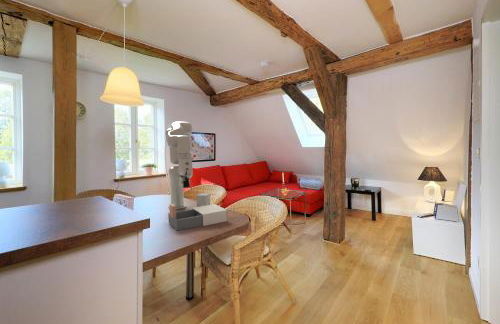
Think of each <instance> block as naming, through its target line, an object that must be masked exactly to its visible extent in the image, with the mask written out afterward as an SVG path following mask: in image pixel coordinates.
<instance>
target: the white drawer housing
mask: <svg viewBox="0 0 500 324" xmlns="http://www.w3.org/2000/svg"><path fill="white" fill-rule="evenodd" d="M191 208H192V209H194V210H195V211H197V212H199V213H200V214H202V215H203V225H202V226H203V227H205V226H209V225H214V224H216V225H217V224H219V223H224V222H225V223H226V222H228V210H227V209H226V208H224V207H221V206H219V205H217V204H215V203H214V204H213V203H212V204H210V205H206V206H200V207H197V206H193V207H191ZM192 209H191V210H192Z"/></svg>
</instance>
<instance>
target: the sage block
mask: <svg viewBox="0 0 500 324" xmlns="http://www.w3.org/2000/svg"><path fill="white" fill-rule="evenodd" d="M185 178H186V177H185ZM179 187H180V188H183V189H185V188H184V177H179ZM188 188H189V189H190V188H191V178H190V177H189V187H186V189H188Z"/></svg>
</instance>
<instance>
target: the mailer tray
mask: <svg viewBox="0 0 500 324" xmlns="http://www.w3.org/2000/svg"><path fill="white" fill-rule="evenodd" d="M169 206H170V208H169V213H168V224H169V225H170V226H171V227H172V228H173V229H174V230H176V231H180V230H187V229H191V228H196V227H197V228H198V227H200V226H203V215H202V214H200V213H199V212H197V211H195V210H194V209H188V210H181V211H177V209H176V206H175V205H174V204H171V203H169V204H168V207H169Z"/></svg>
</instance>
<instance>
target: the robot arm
mask: <svg viewBox="0 0 500 324" xmlns="http://www.w3.org/2000/svg"><path fill="white" fill-rule="evenodd" d="M192 132H193V126H192V124H191V123H190V122H189V121H188V122H187V121H175V122H173V123H171V125H170V128H168V129H166V130H165V137H166V144H167V147H169V158H170V164H172V165H174V166H171V167H169V169H168V176H169V182H170V186H169V189H170V204H174V205H175V206H176V210H181V209H185V208H186V207H187V204H185V203H184V202H185V200H184V199H185V198H184V197H185V196H184V189H185V188H186V187H189V177H190V179H191V178H192V177H193V174H194V172H193V169H194V168H193V158H192V153H191V145H192V138H191V135H192V134H193V133H192ZM179 177H184V188H180V187H179ZM185 177H186V178H185ZM189 188H190V187H189ZM186 189H187V188H186ZM168 208H169V209H170V206H169V205H168Z"/></svg>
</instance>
